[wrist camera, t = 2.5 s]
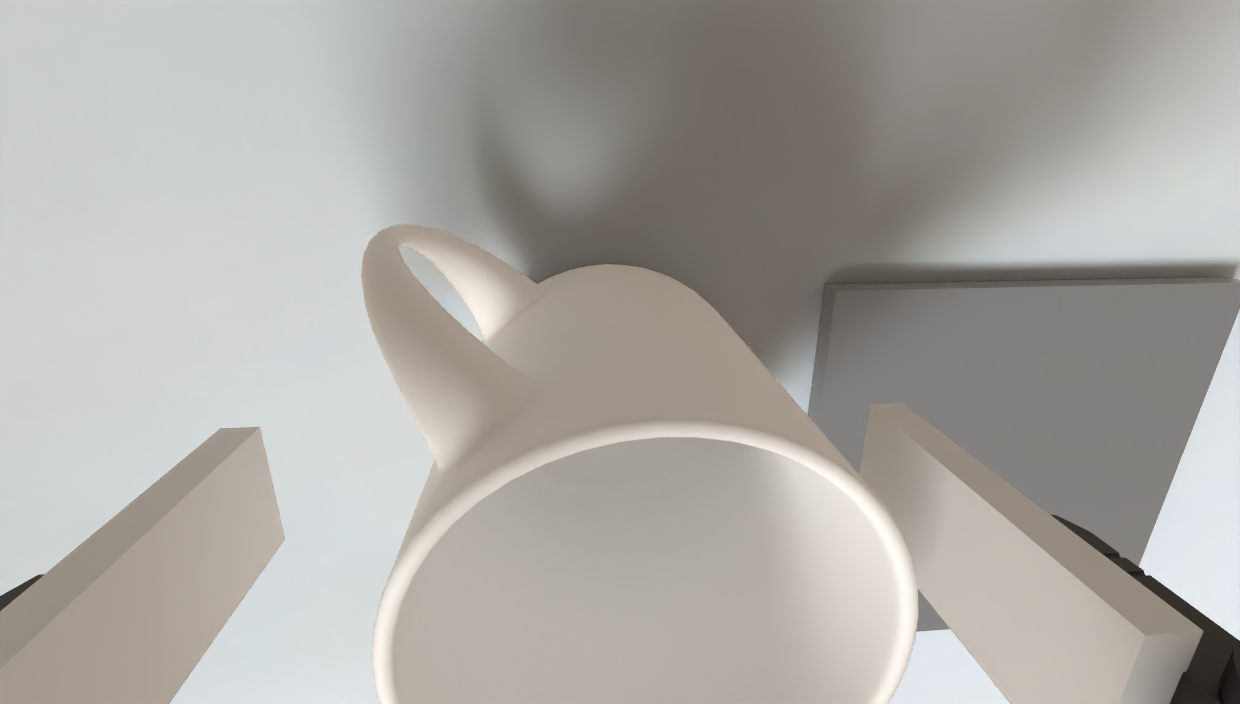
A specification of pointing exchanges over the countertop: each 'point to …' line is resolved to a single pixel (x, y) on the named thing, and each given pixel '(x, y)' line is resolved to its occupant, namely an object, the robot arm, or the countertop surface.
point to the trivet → (1034, 384)
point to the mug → (619, 503)
